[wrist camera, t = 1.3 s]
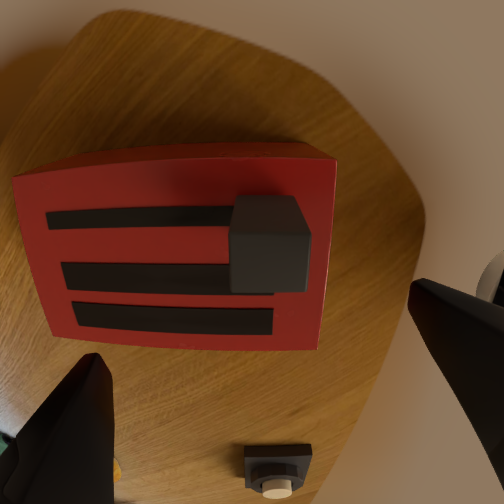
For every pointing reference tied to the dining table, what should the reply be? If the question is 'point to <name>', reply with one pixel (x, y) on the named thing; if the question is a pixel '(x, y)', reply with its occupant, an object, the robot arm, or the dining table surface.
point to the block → (276, 464)
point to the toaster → (170, 244)
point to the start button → (276, 488)
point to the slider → (268, 245)
